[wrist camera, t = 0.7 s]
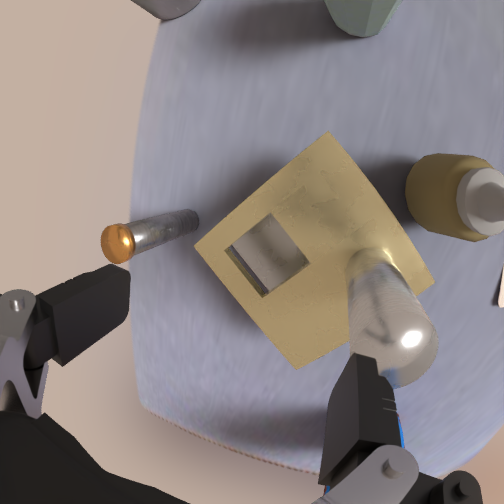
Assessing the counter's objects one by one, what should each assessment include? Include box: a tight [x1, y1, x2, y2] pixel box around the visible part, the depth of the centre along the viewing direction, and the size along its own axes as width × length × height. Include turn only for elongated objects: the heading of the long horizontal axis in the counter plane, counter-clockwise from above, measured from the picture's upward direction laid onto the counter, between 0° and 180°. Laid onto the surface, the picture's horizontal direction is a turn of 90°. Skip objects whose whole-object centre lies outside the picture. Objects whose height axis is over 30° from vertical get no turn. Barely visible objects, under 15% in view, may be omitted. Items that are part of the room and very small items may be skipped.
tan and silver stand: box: [194, 131, 438, 389], centre depth 23 cm, size 16×16×21 cm
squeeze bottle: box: [405, 153, 504, 242], centre depth 19 cm, size 8×8×18 cm
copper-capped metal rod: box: [101, 209, 199, 264], centre depth 30 cm, size 3×3×14 cm
